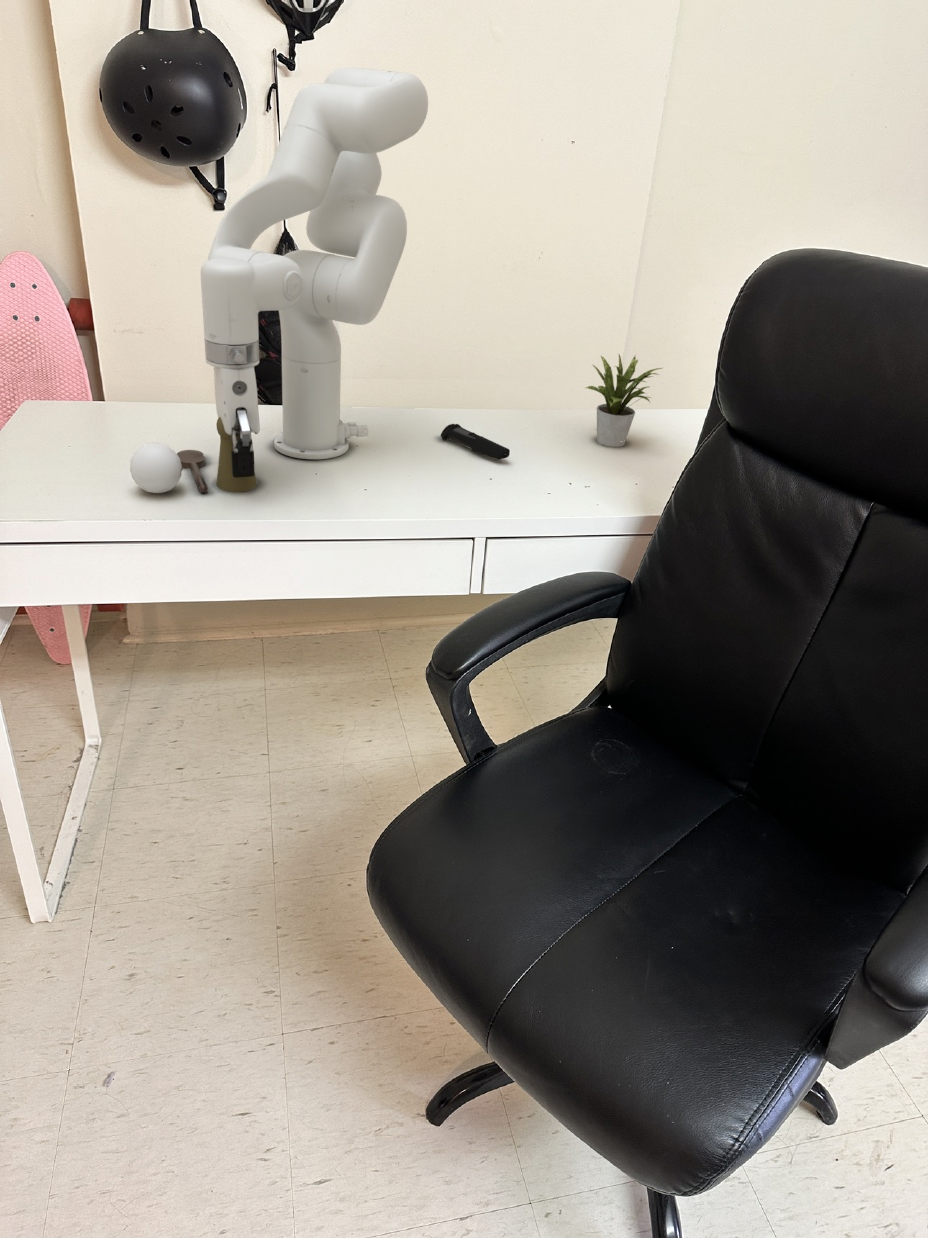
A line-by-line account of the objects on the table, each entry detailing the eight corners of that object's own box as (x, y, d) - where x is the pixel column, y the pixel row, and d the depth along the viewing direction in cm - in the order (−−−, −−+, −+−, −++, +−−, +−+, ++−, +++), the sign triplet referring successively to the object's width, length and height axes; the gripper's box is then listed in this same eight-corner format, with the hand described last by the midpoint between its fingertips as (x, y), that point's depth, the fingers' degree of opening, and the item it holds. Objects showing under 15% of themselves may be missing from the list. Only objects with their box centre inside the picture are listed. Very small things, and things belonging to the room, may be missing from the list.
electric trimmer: (497, 467, 161) (499, 450, 159) (438, 438, 170) (439, 421, 168) (513, 463, 163) (515, 446, 161) (454, 435, 172) (455, 418, 171)
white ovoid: (187, 499, 139) (183, 451, 135) (134, 502, 136) (129, 454, 133) (179, 473, 147) (176, 428, 143) (129, 476, 144) (124, 430, 141)
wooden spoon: (174, 456, 153) (174, 449, 152) (201, 454, 154) (201, 447, 154) (189, 495, 140) (189, 487, 140) (218, 493, 142) (218, 485, 141)
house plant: (651, 462, 168) (669, 371, 160) (574, 452, 170) (587, 361, 162) (650, 437, 181) (666, 351, 172) (578, 427, 182) (590, 342, 174)
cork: (262, 480, 147) (261, 411, 142) (247, 494, 142) (245, 423, 137) (226, 474, 148) (223, 405, 143) (209, 488, 143) (205, 417, 138)
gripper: (271, 367, 130) (274, 484, 139) (246, 334, 143) (251, 443, 152) (215, 369, 127) (222, 488, 136) (196, 336, 141) (203, 446, 149)
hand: (237, 464), depth 144 cm, fingers open, 9 cm apart
